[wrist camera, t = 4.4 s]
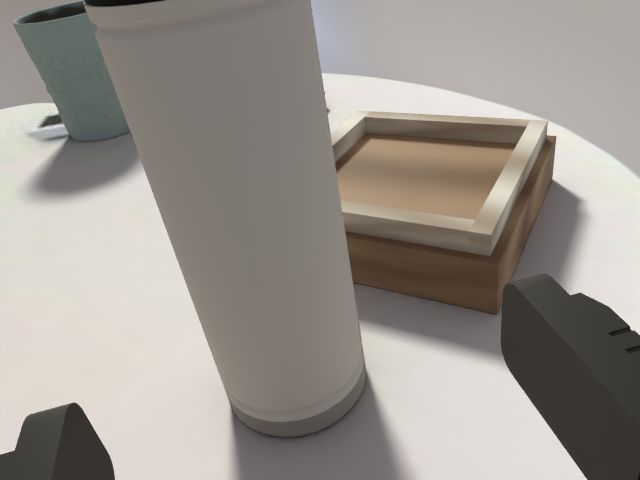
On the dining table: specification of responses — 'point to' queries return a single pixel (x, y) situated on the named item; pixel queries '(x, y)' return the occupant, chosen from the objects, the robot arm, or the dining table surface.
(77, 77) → the green cup
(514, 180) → the square wooden tray
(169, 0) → the travel mug
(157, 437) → the dining table surface
